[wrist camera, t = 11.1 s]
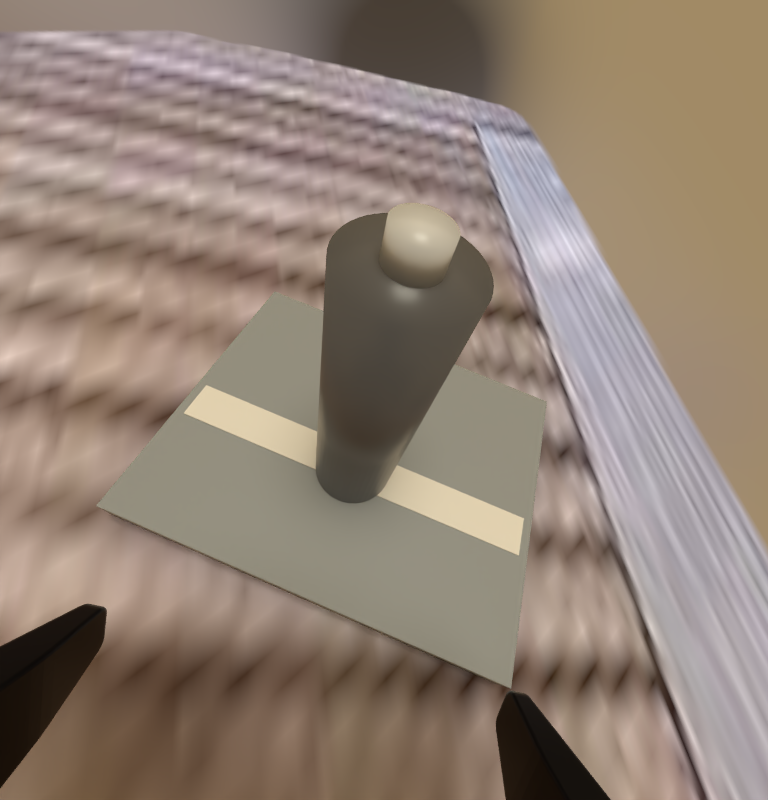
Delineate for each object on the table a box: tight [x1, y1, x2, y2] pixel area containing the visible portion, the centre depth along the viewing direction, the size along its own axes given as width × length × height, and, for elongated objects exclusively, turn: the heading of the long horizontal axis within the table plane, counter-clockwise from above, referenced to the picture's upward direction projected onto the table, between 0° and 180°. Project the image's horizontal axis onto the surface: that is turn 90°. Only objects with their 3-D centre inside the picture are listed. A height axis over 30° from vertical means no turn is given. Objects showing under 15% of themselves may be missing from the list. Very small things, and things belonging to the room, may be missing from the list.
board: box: [96, 292, 547, 688], centre depth 21 cm, size 16×20×2 cm
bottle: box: [315, 203, 494, 503], centre depth 14 cm, size 4×4×14 cm
